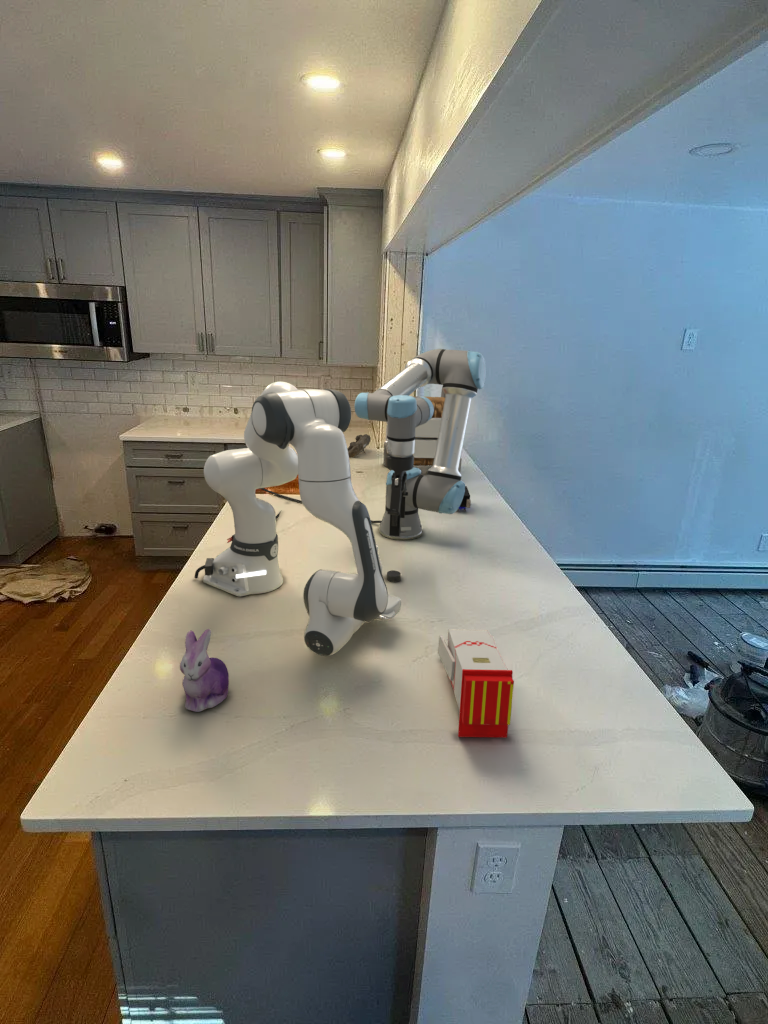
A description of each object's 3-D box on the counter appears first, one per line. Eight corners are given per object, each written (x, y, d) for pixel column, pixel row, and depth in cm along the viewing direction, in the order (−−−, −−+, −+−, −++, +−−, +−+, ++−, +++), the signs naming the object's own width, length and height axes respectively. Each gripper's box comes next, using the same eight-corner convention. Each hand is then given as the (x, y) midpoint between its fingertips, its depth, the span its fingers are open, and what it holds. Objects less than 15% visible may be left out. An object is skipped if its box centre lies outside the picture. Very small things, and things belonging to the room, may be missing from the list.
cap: (389, 582, 164) (389, 577, 163) (384, 576, 168) (384, 571, 167) (402, 581, 165) (402, 575, 165) (397, 575, 169) (397, 569, 168)
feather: (288, 505, 226) (290, 501, 226) (271, 529, 199) (273, 524, 199) (284, 503, 226) (287, 499, 225) (266, 526, 199) (269, 522, 199)
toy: (488, 613, 130) (523, 677, 101) (484, 667, 133) (517, 744, 104) (435, 612, 130) (455, 676, 101) (432, 666, 133) (451, 743, 103)
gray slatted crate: (382, 463, 289) (386, 382, 275) (445, 464, 293) (451, 384, 279) (390, 482, 257) (394, 392, 243) (460, 483, 261) (468, 394, 247)
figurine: (186, 720, 107) (180, 652, 102) (178, 689, 115) (171, 624, 110) (237, 706, 111) (233, 640, 106) (225, 677, 119) (221, 615, 114)
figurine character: (470, 516, 223) (465, 500, 237) (473, 499, 220) (467, 484, 233) (453, 516, 223) (449, 500, 236) (455, 498, 220) (451, 483, 233)
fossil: (346, 440, 316) (367, 425, 311) (357, 453, 319) (378, 438, 314) (340, 453, 296) (362, 438, 291) (351, 468, 299) (374, 452, 294)
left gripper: (390, 609, 131) (410, 584, 143) (312, 590, 138) (337, 568, 150) (389, 632, 133) (408, 606, 145) (312, 613, 140) (337, 589, 152)
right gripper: (392, 441, 166) (389, 509, 173) (379, 466, 143) (377, 542, 150) (417, 443, 165) (414, 511, 173) (409, 468, 142) (405, 545, 150)
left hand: (372, 587), depth 148 cm, fingers closed on bottle, 5 cm apart
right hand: (397, 526), depth 161 cm, fingers open, 13 cm apart
